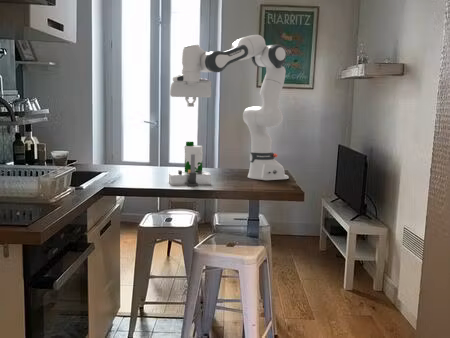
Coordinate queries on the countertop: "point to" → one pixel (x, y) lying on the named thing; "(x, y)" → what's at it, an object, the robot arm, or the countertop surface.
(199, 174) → the breaker box
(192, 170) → the grey stepped post
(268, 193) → the countertop surface
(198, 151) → the soya milk
